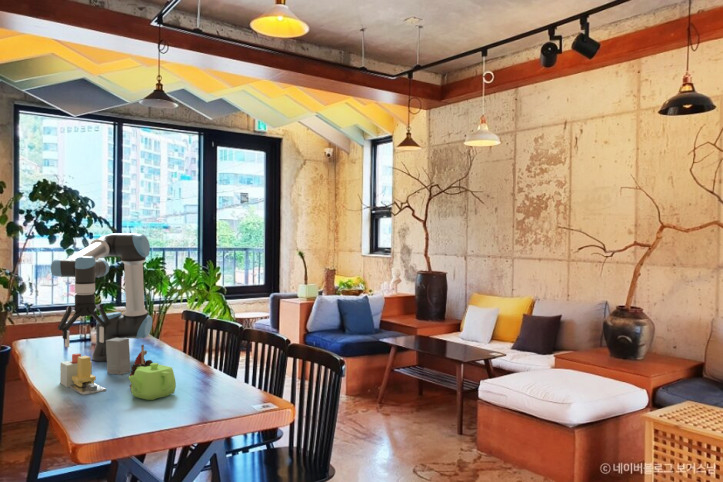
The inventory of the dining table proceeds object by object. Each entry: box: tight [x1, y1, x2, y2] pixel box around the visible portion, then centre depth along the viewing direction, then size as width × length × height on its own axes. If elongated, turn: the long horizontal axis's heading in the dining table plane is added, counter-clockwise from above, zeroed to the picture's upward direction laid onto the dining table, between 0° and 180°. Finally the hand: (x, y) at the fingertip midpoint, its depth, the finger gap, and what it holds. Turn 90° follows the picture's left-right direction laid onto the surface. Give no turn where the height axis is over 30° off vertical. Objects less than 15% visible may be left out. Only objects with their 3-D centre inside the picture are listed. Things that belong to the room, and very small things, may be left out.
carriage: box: [72, 355, 97, 387], centre depth 229 cm, size 7×7×11 cm
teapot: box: [127, 362, 177, 401], centre depth 216 cm, size 18×20×13 cm
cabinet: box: [59, 360, 93, 388], centre depth 235 cm, size 10×8×9 cm
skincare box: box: [106, 338, 131, 376], centre depth 253 cm, size 8×7×16 cm
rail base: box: [68, 382, 107, 396], centre depth 226 cm, size 9×15×3 cm, turn 47°
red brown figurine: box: [129, 344, 154, 389], centre depth 230 cm, size 11×9×18 cm
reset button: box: [71, 353, 82, 364], centre depth 235 cm, size 3×3×5 cm
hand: (84, 344), depth 229 cm, fingers open, 13 cm apart
